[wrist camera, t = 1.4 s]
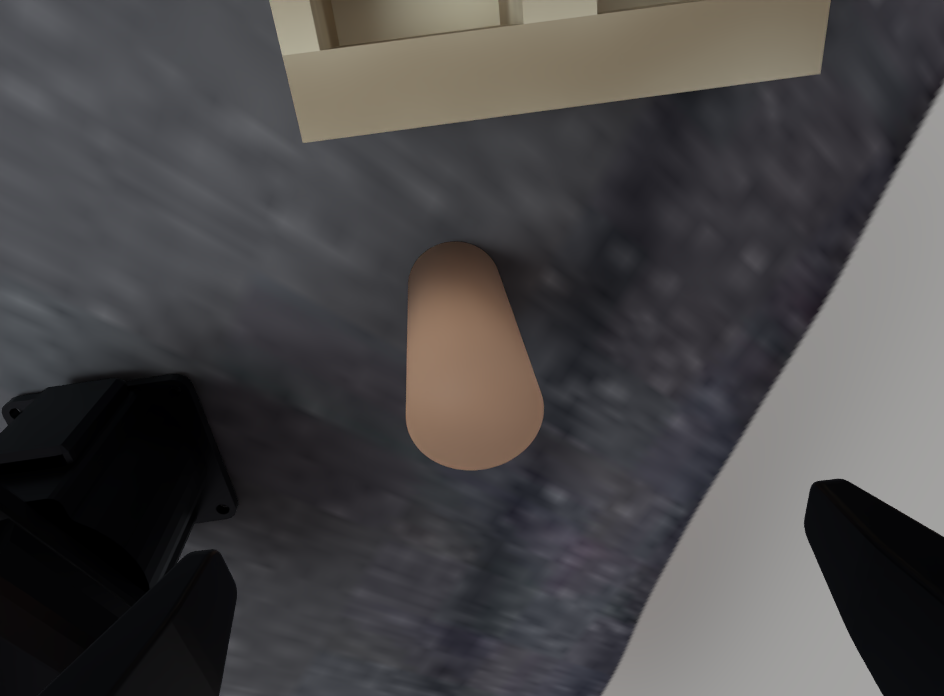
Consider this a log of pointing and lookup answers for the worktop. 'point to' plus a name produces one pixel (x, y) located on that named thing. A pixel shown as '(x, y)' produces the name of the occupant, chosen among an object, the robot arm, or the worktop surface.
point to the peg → (466, 363)
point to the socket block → (526, 55)
